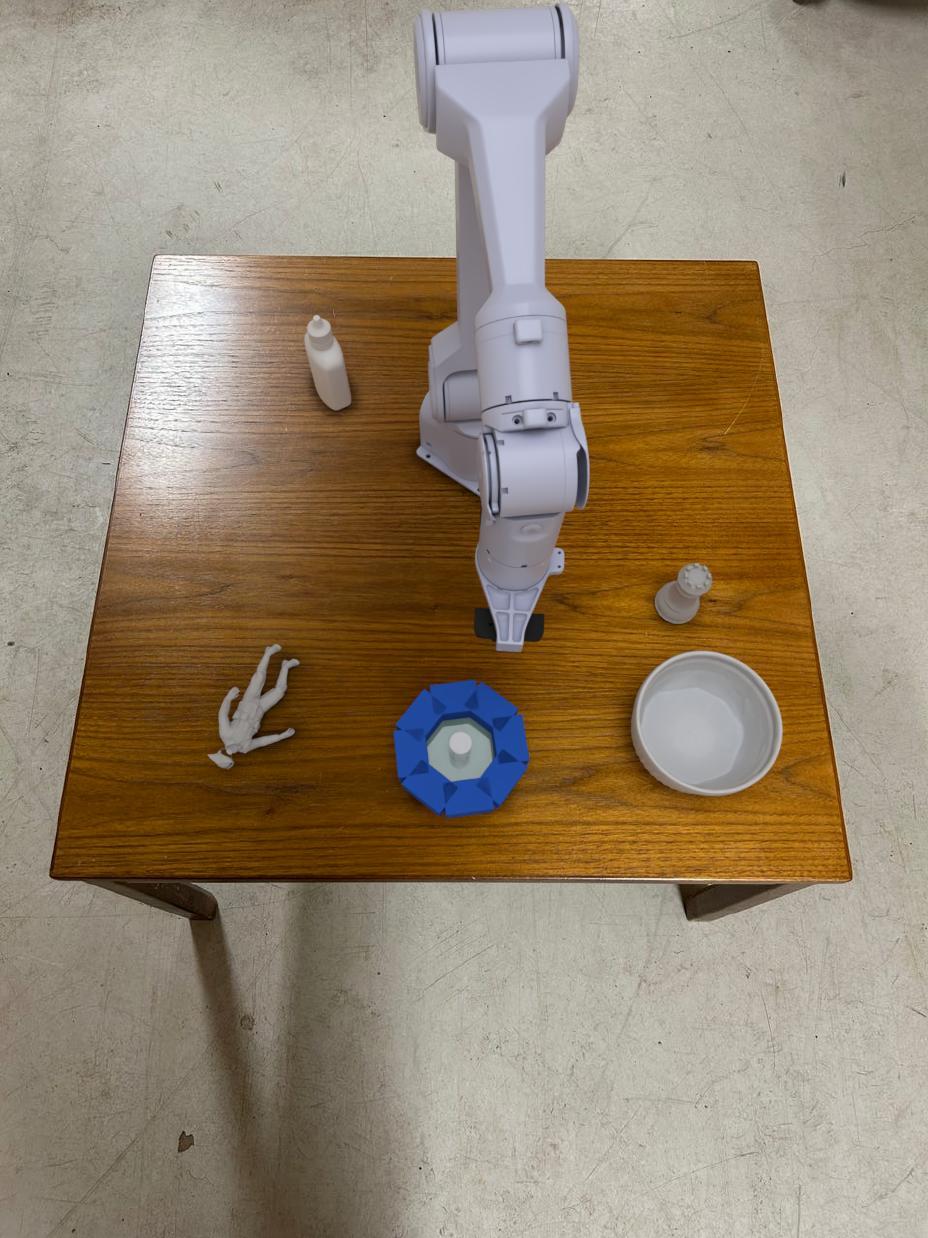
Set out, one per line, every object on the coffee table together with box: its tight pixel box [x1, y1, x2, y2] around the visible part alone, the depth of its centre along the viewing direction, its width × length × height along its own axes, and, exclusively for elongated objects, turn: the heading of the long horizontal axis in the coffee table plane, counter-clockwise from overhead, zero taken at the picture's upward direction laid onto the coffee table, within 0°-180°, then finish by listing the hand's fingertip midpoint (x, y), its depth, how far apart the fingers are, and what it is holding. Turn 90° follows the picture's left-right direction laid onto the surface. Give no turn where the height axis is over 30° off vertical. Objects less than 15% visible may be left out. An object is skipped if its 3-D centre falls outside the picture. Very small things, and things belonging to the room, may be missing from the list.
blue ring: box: [392, 679, 531, 820], centre depth 70 cm, size 12×12×3 cm
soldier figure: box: [207, 643, 301, 771], centre depth 74 cm, size 8×5×12 cm
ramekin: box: [630, 650, 784, 797], centre depth 73 cm, size 13×13×7 cm
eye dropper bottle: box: [304, 314, 352, 412], centre depth 83 cm, size 4×6×12 cm
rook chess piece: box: [654, 562, 713, 625], centre depth 77 cm, size 4×4×8 cm
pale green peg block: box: [416, 717, 495, 801], centre depth 71 cm, size 8×8×8 cm
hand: (505, 598), depth 70 cm, fingers open, 7 cm apart
